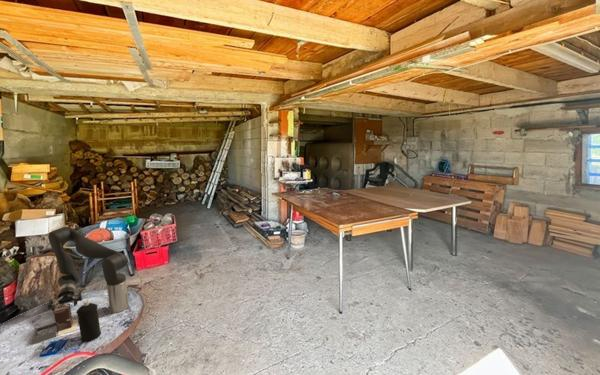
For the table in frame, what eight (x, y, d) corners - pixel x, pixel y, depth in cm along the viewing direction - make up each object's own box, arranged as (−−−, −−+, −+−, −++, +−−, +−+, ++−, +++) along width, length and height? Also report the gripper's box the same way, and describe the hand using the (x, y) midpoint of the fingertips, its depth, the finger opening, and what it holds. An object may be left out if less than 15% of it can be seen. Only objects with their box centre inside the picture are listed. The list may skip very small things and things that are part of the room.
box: (56, 332, 137) (53, 311, 135) (58, 327, 141) (54, 306, 138) (72, 328, 141) (68, 307, 138) (73, 322, 144) (69, 303, 142)
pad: (78, 318, 148) (78, 318, 148) (76, 329, 140) (76, 329, 140) (59, 324, 143) (59, 324, 143) (57, 335, 135) (57, 335, 135)
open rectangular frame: (58, 324, 143) (57, 319, 143) (56, 336, 135) (55, 331, 134) (35, 331, 138) (34, 325, 137) (31, 344, 129) (30, 339, 129)
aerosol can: (105, 332, 138) (100, 298, 134) (88, 344, 131) (82, 308, 127) (93, 328, 141) (89, 294, 137) (76, 339, 133) (70, 304, 129)
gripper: (49, 290, 153) (45, 305, 140) (81, 283, 161) (80, 296, 149) (51, 302, 155) (47, 318, 142) (83, 294, 163) (82, 308, 150)
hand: (64, 307), depth 145 cm, fingers open, 8 cm apart
